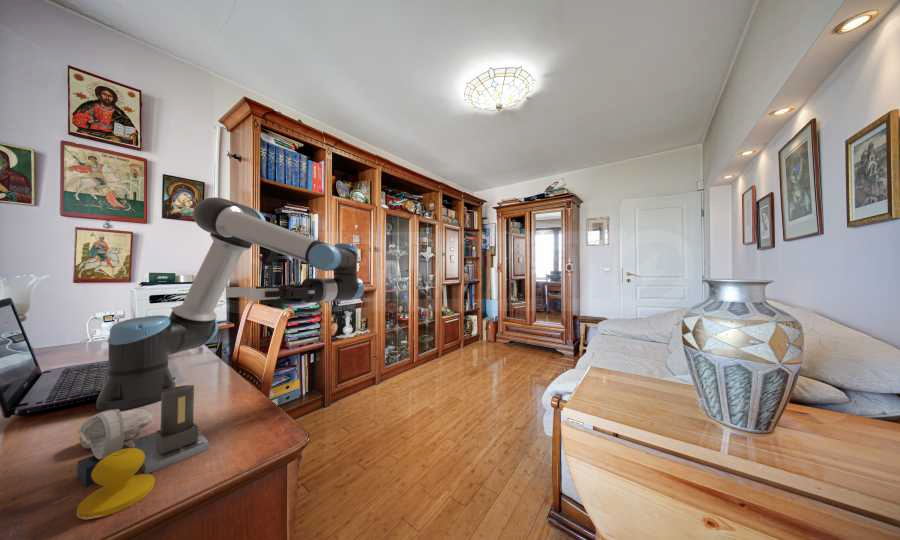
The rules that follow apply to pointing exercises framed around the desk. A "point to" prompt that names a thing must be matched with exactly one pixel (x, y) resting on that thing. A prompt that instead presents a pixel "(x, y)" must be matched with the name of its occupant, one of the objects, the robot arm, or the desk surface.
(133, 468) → the yellow stacked oval discs
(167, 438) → the cylinder
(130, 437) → the fossil
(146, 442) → the hub plate
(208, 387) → the desk surface
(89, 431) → the watch
